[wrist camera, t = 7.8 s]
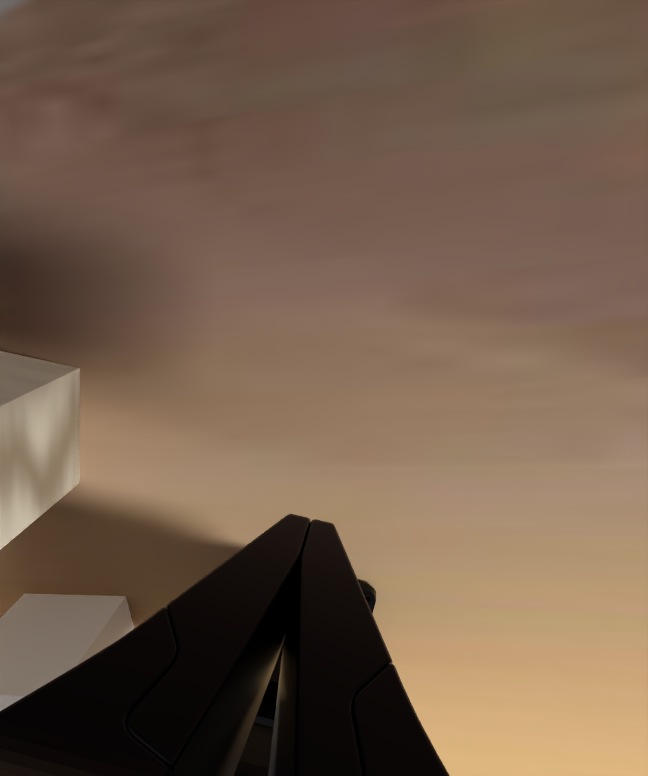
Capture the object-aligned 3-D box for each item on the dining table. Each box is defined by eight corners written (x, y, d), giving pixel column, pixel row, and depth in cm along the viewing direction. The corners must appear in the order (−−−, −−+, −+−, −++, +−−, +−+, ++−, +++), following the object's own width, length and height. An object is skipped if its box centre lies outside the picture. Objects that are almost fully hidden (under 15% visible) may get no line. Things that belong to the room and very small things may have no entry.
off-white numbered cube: (148, 680, 28) (84, 803, 22) (53, 675, 29) (-34, 792, 23) (126, 595, 26) (49, 705, 20) (25, 592, 27) (-77, 697, 21)
